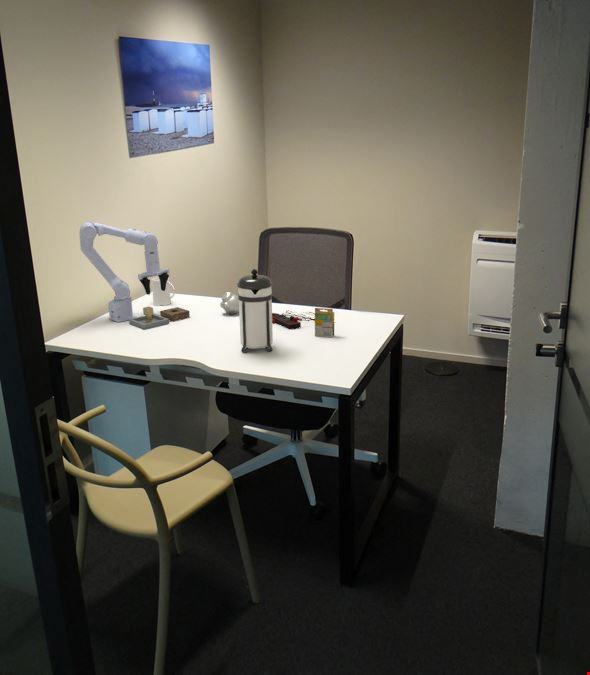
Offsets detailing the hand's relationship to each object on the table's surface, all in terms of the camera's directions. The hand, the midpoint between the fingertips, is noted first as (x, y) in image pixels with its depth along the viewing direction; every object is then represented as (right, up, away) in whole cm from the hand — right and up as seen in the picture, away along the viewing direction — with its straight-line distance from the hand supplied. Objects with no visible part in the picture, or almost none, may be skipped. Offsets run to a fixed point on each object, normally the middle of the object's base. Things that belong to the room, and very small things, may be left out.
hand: (155, 292), depth 294 cm
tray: (-1, -14, -9) cm, 17 cm away
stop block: (+8, -11, -1) cm, 14 cm away
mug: (0, -4, +22) cm, 22 cm away
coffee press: (+46, -23, -40) cm, 65 cm away
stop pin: (-1, -13, -9) cm, 16 cm away
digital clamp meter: (+62, -13, -7) cm, 64 cm away
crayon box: (+72, -19, -28) cm, 80 cm away
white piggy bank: (+33, -9, +4) cm, 34 cm away
